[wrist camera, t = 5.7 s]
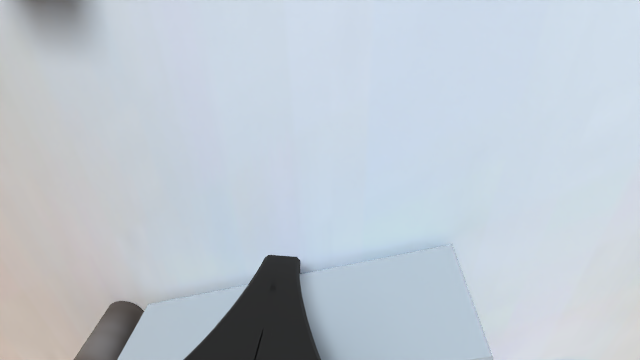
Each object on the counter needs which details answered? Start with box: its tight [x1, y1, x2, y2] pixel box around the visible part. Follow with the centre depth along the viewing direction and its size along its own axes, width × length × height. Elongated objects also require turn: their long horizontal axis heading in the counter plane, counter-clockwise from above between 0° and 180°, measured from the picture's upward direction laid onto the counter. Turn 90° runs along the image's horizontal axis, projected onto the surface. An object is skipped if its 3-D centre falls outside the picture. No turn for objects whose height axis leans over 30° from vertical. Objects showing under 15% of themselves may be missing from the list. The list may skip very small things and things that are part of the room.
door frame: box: [74, 301, 144, 360], centre depth 10 cm, size 28×2×5 cm, turn 177°
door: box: [117, 244, 493, 360], centre depth 14 cm, size 12×2×4 cm, turn 107°
